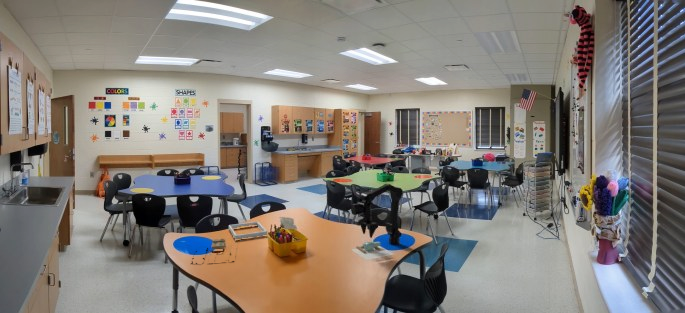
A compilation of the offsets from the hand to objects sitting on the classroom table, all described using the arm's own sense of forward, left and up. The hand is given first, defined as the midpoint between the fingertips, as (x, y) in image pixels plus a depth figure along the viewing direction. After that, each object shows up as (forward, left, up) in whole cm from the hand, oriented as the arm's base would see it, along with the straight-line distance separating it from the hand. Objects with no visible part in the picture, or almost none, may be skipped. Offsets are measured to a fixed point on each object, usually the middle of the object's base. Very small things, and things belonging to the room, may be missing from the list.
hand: (367, 235), depth 236 cm
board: (-1, +5, -10) cm, 11 cm away
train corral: (+62, -77, -10) cm, 100 cm away
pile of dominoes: (+90, -40, -11) cm, 100 cm away
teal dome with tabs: (-3, +1, -9) cm, 10 cm away
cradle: (-1, 0, -9) cm, 9 cm away
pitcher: (+37, -52, -10) cm, 65 cm away
